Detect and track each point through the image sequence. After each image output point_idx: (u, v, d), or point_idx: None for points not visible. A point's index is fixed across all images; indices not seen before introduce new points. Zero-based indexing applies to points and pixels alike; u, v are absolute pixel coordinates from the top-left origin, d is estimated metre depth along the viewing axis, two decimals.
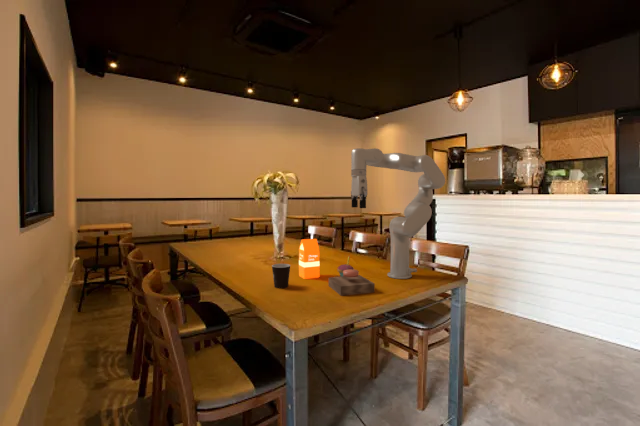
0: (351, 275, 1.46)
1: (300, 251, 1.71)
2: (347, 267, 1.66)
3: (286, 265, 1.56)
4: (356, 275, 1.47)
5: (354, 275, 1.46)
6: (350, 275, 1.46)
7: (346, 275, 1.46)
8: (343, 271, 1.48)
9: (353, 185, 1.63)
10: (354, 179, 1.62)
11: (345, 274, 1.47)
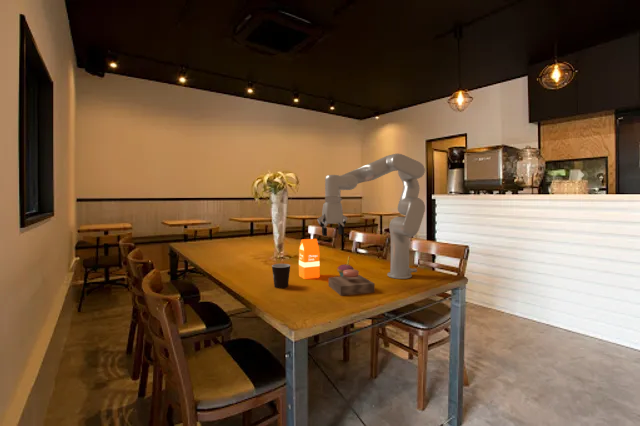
0: (351, 275, 1.46)
1: (300, 251, 1.71)
2: (347, 267, 1.66)
3: (286, 265, 1.56)
4: (356, 275, 1.47)
5: (354, 275, 1.46)
6: (350, 275, 1.46)
7: (346, 275, 1.46)
8: (343, 271, 1.48)
9: (334, 212, 1.57)
10: (336, 206, 1.57)
11: (345, 274, 1.47)
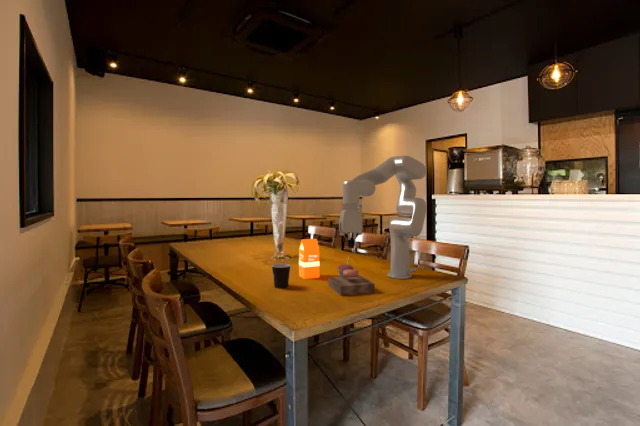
0: (351, 275, 1.46)
1: (300, 251, 1.71)
2: (347, 267, 1.66)
3: (286, 265, 1.56)
4: (356, 275, 1.47)
5: (354, 275, 1.46)
6: (350, 275, 1.46)
7: (346, 275, 1.46)
8: (343, 271, 1.48)
9: (351, 221, 1.45)
10: (354, 214, 1.45)
11: (345, 274, 1.47)
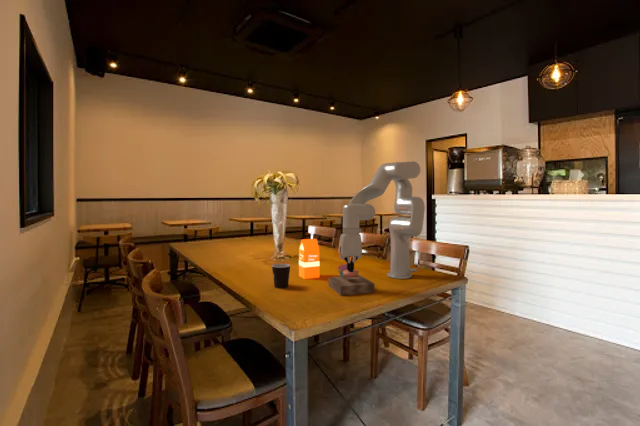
0: (351, 275, 1.46)
1: (300, 251, 1.71)
2: None
3: (286, 265, 1.56)
4: (356, 275, 1.47)
5: (354, 275, 1.46)
6: (350, 275, 1.46)
7: (346, 275, 1.46)
8: (343, 271, 1.48)
9: (350, 245, 1.46)
10: (353, 238, 1.46)
11: (345, 274, 1.47)
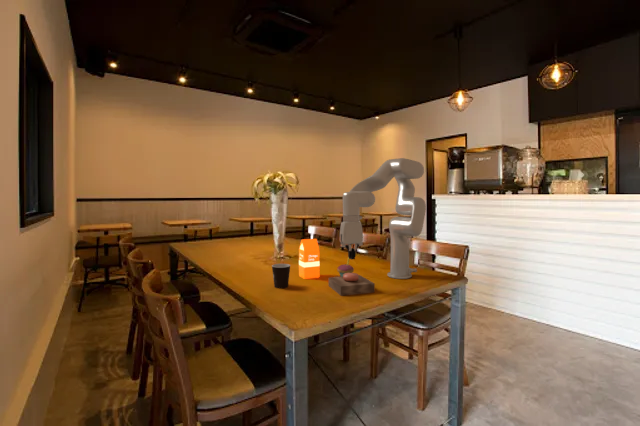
0: (351, 279, 1.46)
1: (300, 251, 1.71)
2: (347, 267, 1.66)
3: (286, 265, 1.56)
4: (356, 279, 1.47)
5: (354, 279, 1.46)
6: (350, 279, 1.46)
7: (346, 279, 1.47)
8: (343, 275, 1.48)
9: (351, 232, 1.46)
10: (354, 226, 1.46)
11: (345, 278, 1.47)
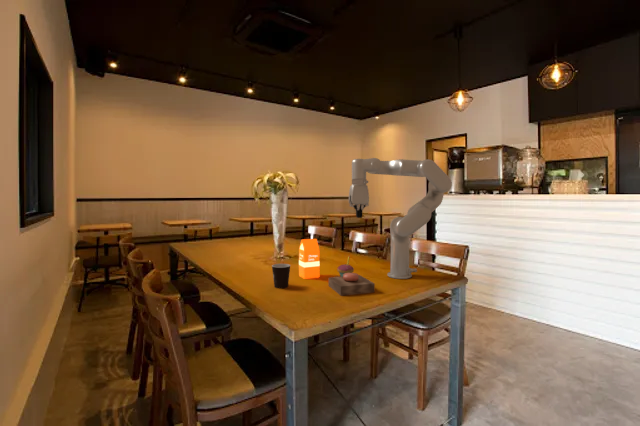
0: (351, 279, 1.46)
1: (300, 251, 1.71)
2: (347, 267, 1.66)
3: (286, 265, 1.56)
4: (356, 279, 1.47)
5: (354, 279, 1.46)
6: (350, 279, 1.46)
7: (346, 279, 1.47)
8: (343, 275, 1.48)
9: (359, 194, 1.68)
10: (361, 188, 1.68)
11: (345, 278, 1.47)
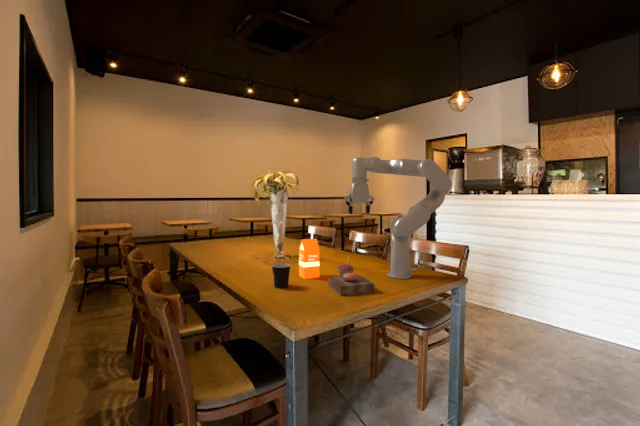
0: (351, 279, 1.46)
1: (300, 251, 1.71)
2: (347, 267, 1.66)
3: (286, 265, 1.56)
4: (356, 279, 1.47)
5: (354, 279, 1.46)
6: (350, 279, 1.46)
7: (346, 279, 1.47)
8: (343, 275, 1.48)
9: (359, 192, 1.70)
10: (362, 186, 1.70)
11: (345, 278, 1.47)
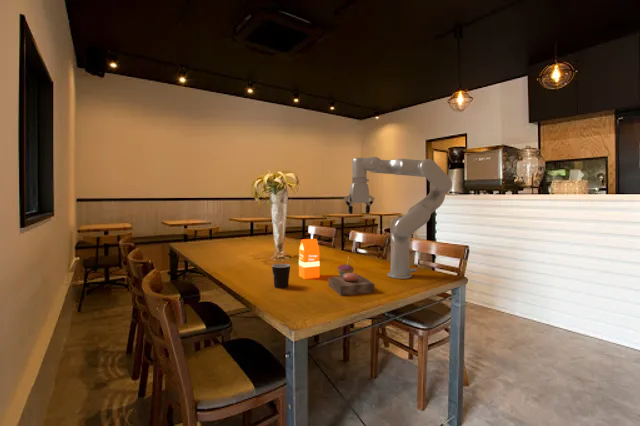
0: (351, 279, 1.46)
1: (300, 251, 1.71)
2: (347, 267, 1.66)
3: (286, 265, 1.56)
4: (356, 279, 1.47)
5: (354, 279, 1.46)
6: (350, 279, 1.46)
7: (346, 279, 1.47)
8: (343, 275, 1.48)
9: (359, 192, 1.70)
10: (362, 186, 1.70)
11: (345, 278, 1.47)
